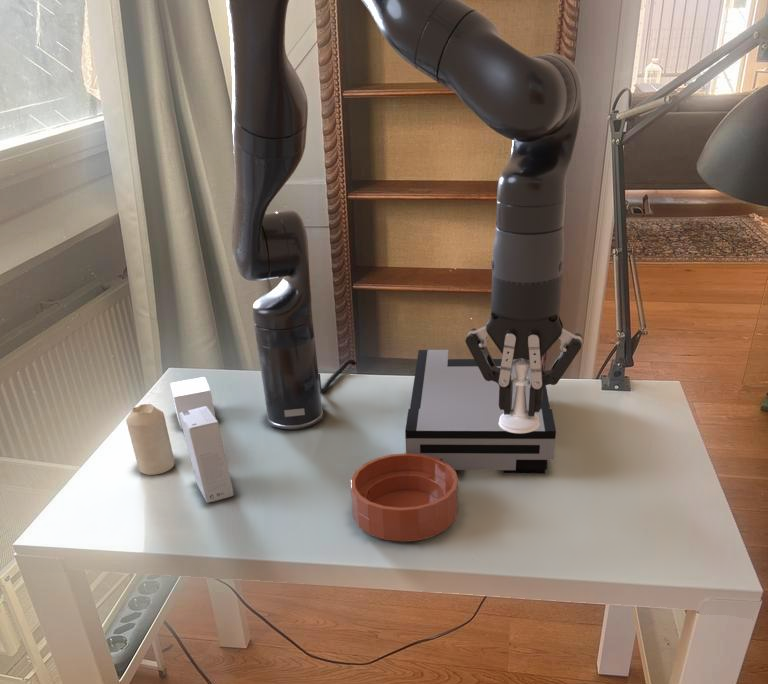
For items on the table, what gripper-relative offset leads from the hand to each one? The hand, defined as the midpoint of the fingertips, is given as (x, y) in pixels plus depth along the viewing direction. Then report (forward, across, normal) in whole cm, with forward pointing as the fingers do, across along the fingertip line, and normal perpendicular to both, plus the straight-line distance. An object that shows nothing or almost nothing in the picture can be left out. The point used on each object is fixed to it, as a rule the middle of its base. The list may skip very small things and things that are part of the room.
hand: (519, 412), depth 94 cm
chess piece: (+2, 0, 0) cm, 2 cm away
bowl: (+17, +15, 0) cm, 22 cm away
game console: (+17, +9, -26) cm, 32 cm away
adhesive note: (+17, +57, -22) cm, 63 cm away
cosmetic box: (+17, +44, -1) cm, 47 cm away
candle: (+17, +56, -6) cm, 59 cm away
